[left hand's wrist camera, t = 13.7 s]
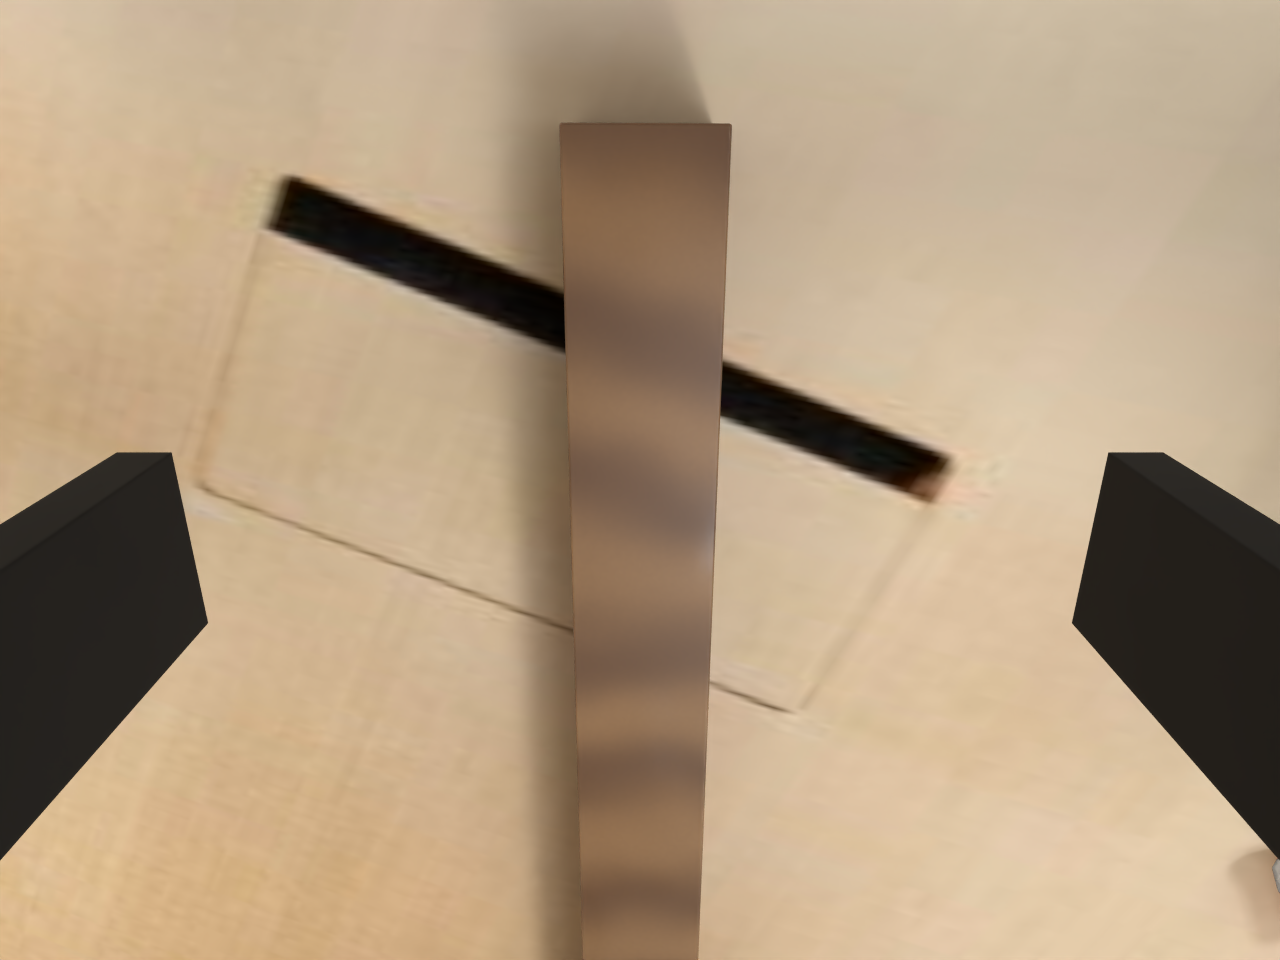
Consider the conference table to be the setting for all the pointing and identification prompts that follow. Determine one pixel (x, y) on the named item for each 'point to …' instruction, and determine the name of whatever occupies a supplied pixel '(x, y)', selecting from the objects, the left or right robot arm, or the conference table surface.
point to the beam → (643, 513)
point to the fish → (1277, 873)
